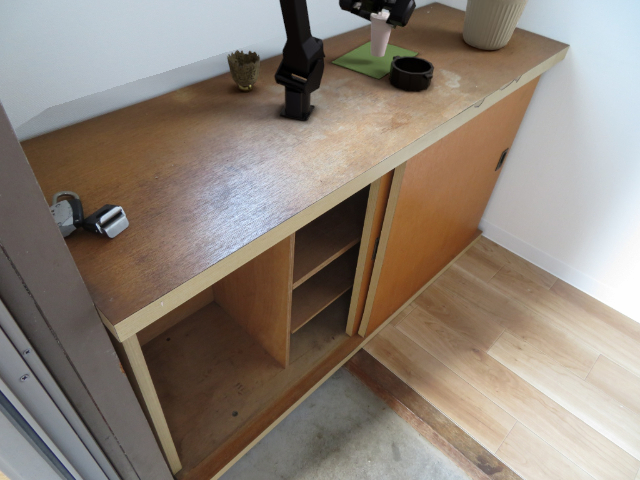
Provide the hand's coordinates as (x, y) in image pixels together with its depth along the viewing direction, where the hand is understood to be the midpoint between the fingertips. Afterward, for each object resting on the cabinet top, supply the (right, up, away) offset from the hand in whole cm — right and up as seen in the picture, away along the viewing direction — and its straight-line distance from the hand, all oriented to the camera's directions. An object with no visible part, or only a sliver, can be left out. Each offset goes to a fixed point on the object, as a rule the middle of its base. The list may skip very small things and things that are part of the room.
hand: (384, 23), depth 114 cm
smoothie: (-1, -6, +4) cm, 8 cm away
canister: (+33, +4, +21) cm, 39 cm away
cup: (-35, -20, -8) cm, 41 cm away
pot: (+6, -15, -1) cm, 17 cm away
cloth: (-1, -5, +9) cm, 10 cm away
